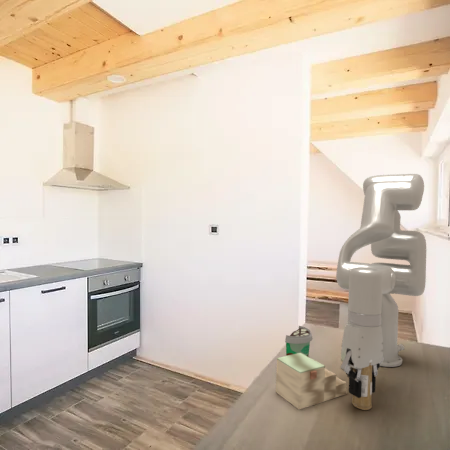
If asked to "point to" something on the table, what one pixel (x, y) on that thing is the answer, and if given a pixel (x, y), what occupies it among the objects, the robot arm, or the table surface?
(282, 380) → the step stand
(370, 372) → the spice jar
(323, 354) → the table surface
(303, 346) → the food container
